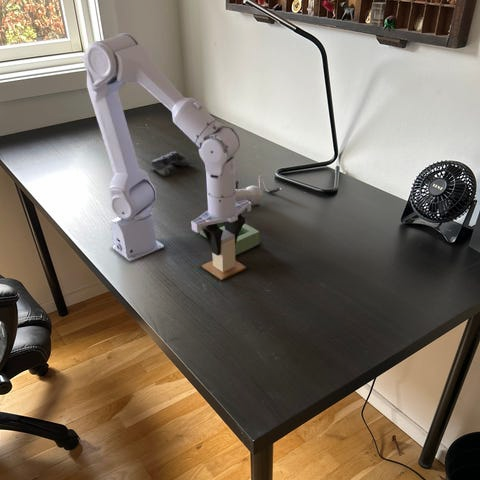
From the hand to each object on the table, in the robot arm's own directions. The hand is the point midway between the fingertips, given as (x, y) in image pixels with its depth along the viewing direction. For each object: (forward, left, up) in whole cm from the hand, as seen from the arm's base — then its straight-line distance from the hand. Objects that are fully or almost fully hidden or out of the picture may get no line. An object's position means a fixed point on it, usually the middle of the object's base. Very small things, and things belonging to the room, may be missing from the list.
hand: (223, 250), depth 107 cm
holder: (+9, +9, -5) cm, 14 cm away
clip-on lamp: (+27, +22, -5) cm, 35 cm away
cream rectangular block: (0, 0, -4) cm, 4 cm away
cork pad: (0, 0, -5) cm, 5 cm away
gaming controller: (+23, +54, -5) cm, 59 cm away
